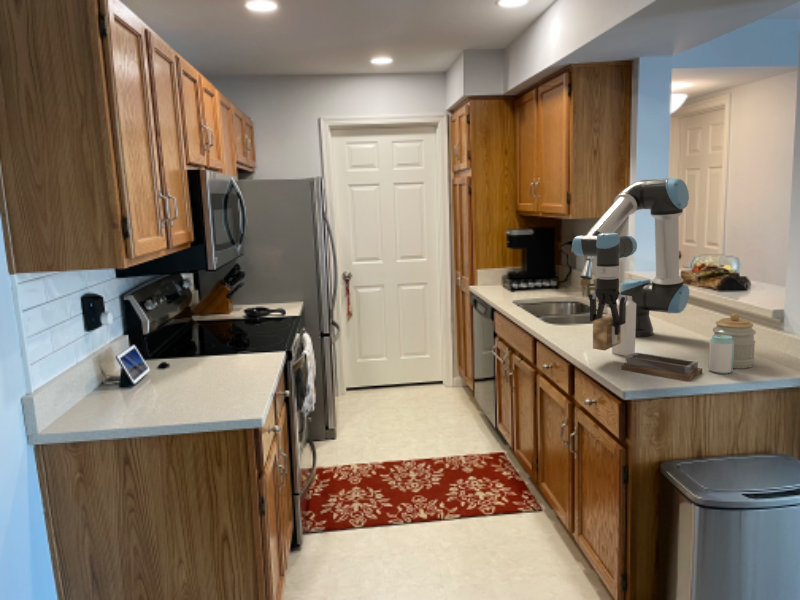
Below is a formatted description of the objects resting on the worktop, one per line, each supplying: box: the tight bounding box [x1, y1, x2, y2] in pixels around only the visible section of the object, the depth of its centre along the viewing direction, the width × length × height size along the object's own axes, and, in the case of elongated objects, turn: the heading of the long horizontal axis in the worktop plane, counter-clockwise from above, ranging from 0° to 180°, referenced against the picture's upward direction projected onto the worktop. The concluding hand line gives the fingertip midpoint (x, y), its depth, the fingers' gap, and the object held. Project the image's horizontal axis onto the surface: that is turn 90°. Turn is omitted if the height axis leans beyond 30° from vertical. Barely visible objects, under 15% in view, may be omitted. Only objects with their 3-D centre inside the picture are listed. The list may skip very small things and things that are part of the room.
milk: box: [611, 295, 636, 357], centre depth 222 cm, size 6×6×22 cm
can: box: [708, 334, 734, 375], centre depth 195 cm, size 7×7×12 cm
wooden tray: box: [620, 352, 703, 382], centre depth 199 cm, size 12×22×4 cm, turn 45°
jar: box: [712, 313, 757, 369], centre depth 203 cm, size 13×13×18 cm
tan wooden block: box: [592, 314, 621, 351], centre depth 210 cm, size 5×12×10 cm, turn 135°
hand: (607, 342), depth 211 cm, fingers closed on tan wooden block, 5 cm apart
